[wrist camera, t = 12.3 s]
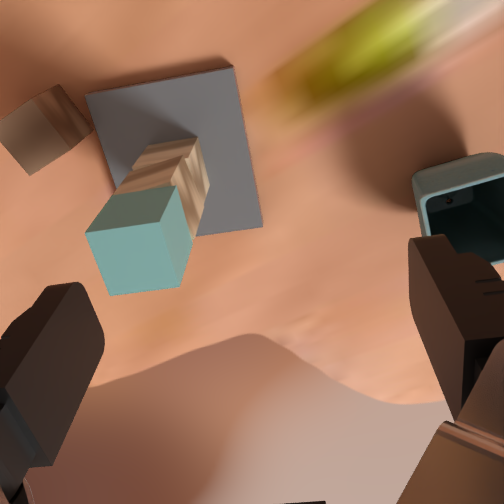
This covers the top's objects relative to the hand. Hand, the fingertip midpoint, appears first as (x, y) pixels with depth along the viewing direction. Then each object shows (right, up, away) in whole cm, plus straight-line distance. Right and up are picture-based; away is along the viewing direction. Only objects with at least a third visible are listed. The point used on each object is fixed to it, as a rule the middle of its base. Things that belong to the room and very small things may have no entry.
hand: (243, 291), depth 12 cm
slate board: (-7, +10, +36) cm, 38 cm away
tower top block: (-7, +6, +30) cm, 32 cm away
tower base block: (-7, +9, +35) cm, 37 cm away
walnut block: (-19, +14, +35) cm, 42 cm away
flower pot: (+20, +8, +37) cm, 42 cm away
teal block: (-7, +3, +25) cm, 26 cm away
